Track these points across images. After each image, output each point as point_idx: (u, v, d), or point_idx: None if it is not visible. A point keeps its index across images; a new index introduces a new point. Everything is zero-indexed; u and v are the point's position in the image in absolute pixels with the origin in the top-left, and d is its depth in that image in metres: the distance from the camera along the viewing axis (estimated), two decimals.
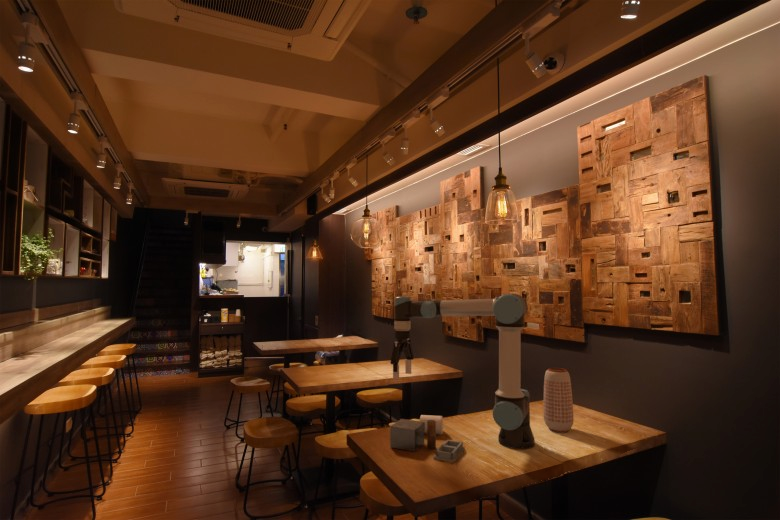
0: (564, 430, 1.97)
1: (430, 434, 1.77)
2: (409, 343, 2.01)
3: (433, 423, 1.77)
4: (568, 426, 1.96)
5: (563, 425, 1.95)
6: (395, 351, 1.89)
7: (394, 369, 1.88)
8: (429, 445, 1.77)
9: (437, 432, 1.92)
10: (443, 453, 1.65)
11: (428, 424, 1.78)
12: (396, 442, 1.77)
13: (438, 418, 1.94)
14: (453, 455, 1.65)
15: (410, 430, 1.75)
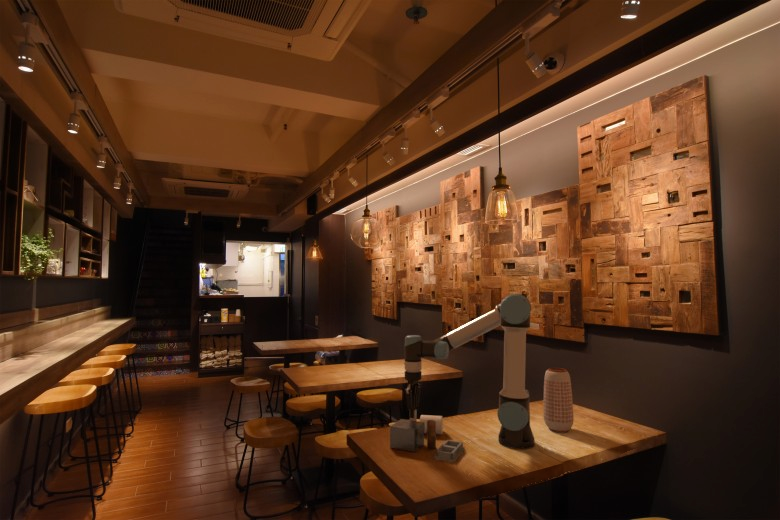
0: (564, 430, 1.97)
1: (430, 434, 1.77)
2: (419, 387, 1.91)
3: (433, 423, 1.77)
4: (568, 426, 1.96)
5: (563, 425, 1.95)
6: (408, 399, 1.83)
7: (411, 415, 1.85)
8: (429, 445, 1.77)
9: (437, 432, 1.92)
10: (443, 453, 1.65)
11: (428, 424, 1.78)
12: (396, 442, 1.77)
13: (438, 418, 1.94)
14: (453, 455, 1.65)
15: (410, 430, 1.74)
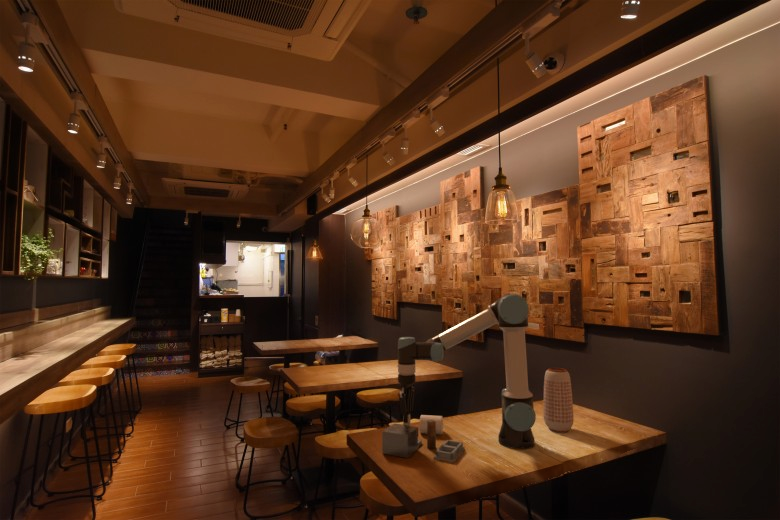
0: (564, 430, 1.97)
1: (430, 434, 1.77)
2: (413, 391, 1.85)
3: (433, 423, 1.77)
4: (568, 426, 1.96)
5: (563, 425, 1.95)
6: (402, 403, 1.77)
7: (404, 420, 1.79)
8: (429, 445, 1.77)
9: (437, 432, 1.92)
10: (443, 453, 1.65)
11: (428, 424, 1.78)
12: (388, 448, 1.71)
13: (438, 418, 1.94)
14: (453, 455, 1.65)
15: (403, 436, 1.68)
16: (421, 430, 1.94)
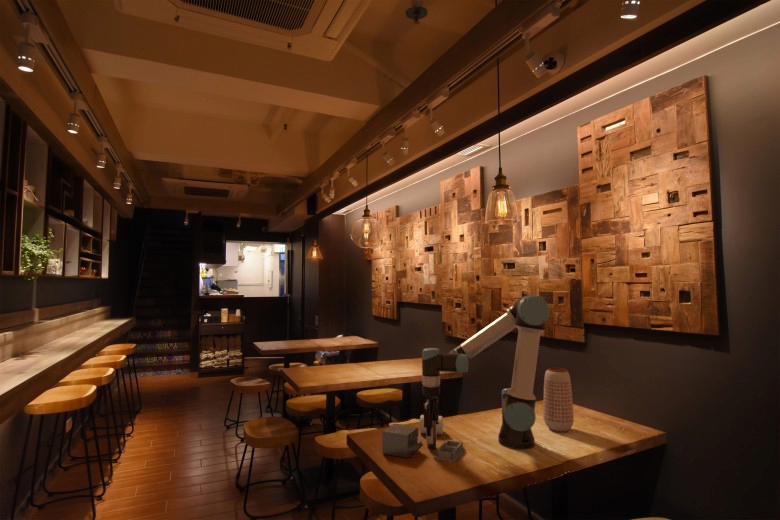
0: (564, 430, 1.97)
1: None
2: (437, 402, 1.83)
3: (433, 423, 1.77)
4: (568, 426, 1.96)
5: (563, 425, 1.95)
6: (426, 415, 1.74)
7: (428, 433, 1.75)
8: (429, 445, 1.77)
9: (437, 432, 1.92)
10: (443, 453, 1.65)
11: None
12: (388, 448, 1.71)
13: (438, 418, 1.94)
14: (453, 455, 1.65)
15: (403, 436, 1.68)
16: (421, 430, 1.94)
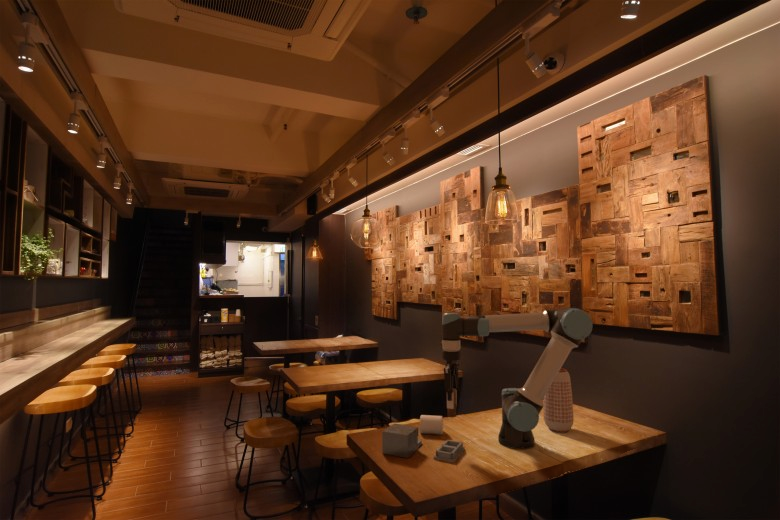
0: (564, 430, 1.97)
1: None
2: (457, 367, 1.81)
3: (454, 390, 1.75)
4: (568, 426, 1.96)
5: (563, 425, 1.95)
6: (447, 379, 1.71)
7: (448, 398, 1.73)
8: (450, 413, 1.74)
9: (437, 432, 1.92)
10: (443, 453, 1.65)
11: None
12: (388, 448, 1.71)
13: (438, 418, 1.94)
14: (453, 455, 1.65)
15: (403, 436, 1.68)
16: (421, 430, 1.94)
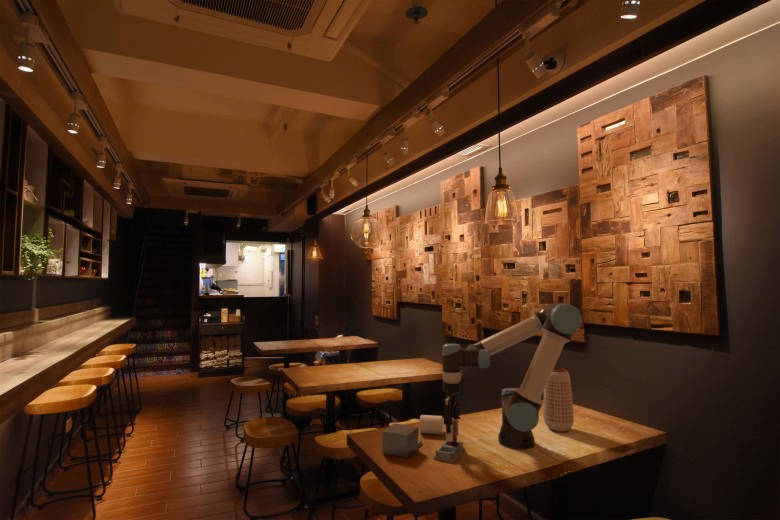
0: (564, 430, 1.97)
1: None
2: (458, 397, 1.80)
3: (454, 423, 1.74)
4: (568, 426, 1.96)
5: (563, 425, 1.95)
6: (447, 411, 1.70)
7: (447, 430, 1.70)
8: (450, 445, 1.73)
9: (437, 432, 1.92)
10: (443, 453, 1.65)
11: None
12: (388, 448, 1.71)
13: (438, 418, 1.94)
14: (453, 455, 1.65)
15: (403, 436, 1.68)
16: (421, 430, 1.94)
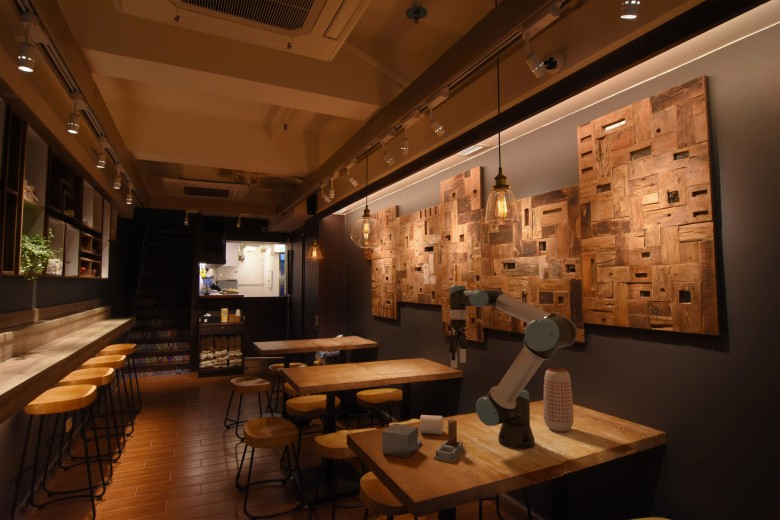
0: (564, 430, 1.97)
1: (451, 434, 1.73)
2: (463, 332, 2.01)
3: (454, 423, 1.74)
4: (568, 426, 1.96)
5: (563, 425, 1.95)
6: (453, 340, 1.89)
7: (452, 357, 1.88)
8: (450, 445, 1.73)
9: (437, 432, 1.92)
10: (443, 453, 1.65)
11: (449, 424, 1.74)
12: (388, 448, 1.71)
13: (438, 418, 1.94)
14: (453, 455, 1.65)
15: (403, 436, 1.68)
16: (421, 430, 1.94)
